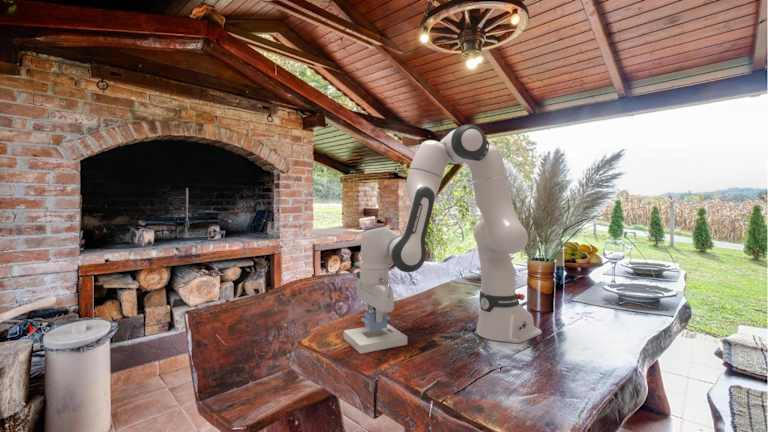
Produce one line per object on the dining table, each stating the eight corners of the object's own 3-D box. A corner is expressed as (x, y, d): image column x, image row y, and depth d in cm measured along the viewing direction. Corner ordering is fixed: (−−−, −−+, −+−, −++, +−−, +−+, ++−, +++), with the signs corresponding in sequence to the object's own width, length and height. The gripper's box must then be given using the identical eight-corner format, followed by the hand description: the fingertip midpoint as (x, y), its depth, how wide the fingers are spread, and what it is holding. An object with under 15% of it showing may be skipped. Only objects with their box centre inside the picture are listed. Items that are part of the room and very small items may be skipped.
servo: (384, 323, 118) (384, 306, 118) (390, 327, 114) (390, 309, 114) (361, 328, 114) (361, 310, 114) (366, 331, 110) (366, 313, 110)
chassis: (386, 330, 124) (386, 322, 124) (407, 344, 111) (407, 335, 111) (343, 338, 117) (343, 329, 117) (360, 353, 104) (360, 344, 104)
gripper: (399, 281, 106) (399, 327, 106) (370, 270, 124) (370, 309, 124) (380, 283, 103) (380, 330, 103) (353, 271, 121) (353, 312, 121)
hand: (374, 319), depth 114 cm, fingers closed on servo, 4 cm apart
